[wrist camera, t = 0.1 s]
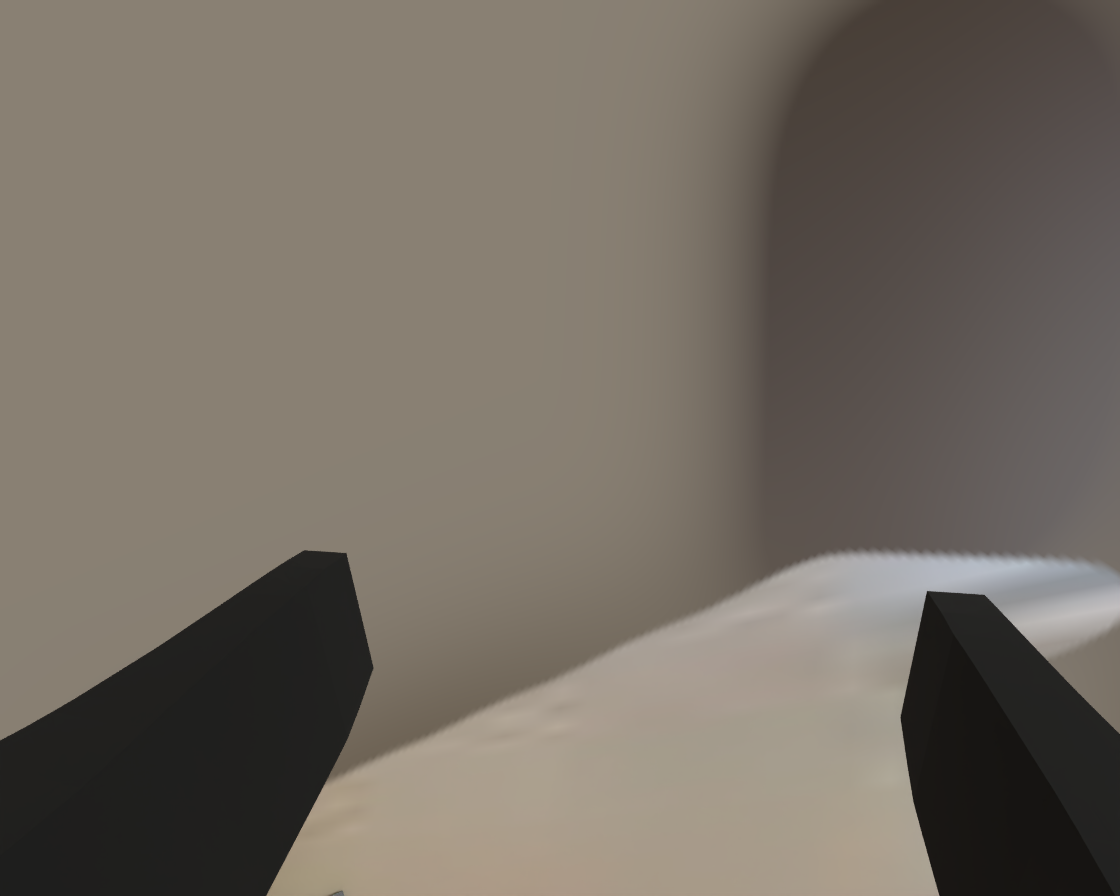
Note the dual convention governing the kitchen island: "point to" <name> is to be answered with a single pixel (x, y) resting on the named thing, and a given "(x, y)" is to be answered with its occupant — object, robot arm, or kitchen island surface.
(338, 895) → the mat
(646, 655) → the kitchen island surface
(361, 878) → the kitchen island surface
